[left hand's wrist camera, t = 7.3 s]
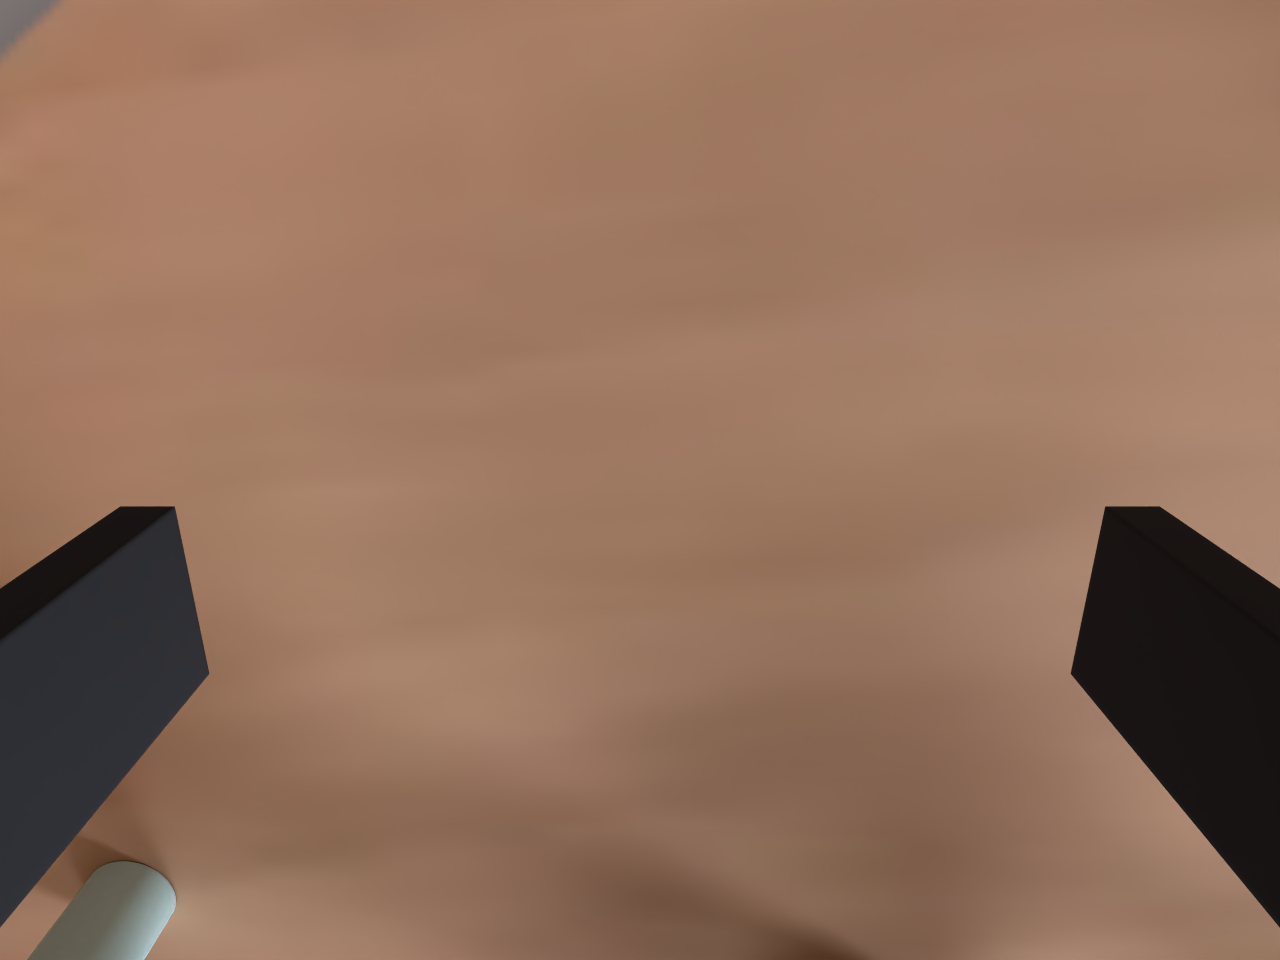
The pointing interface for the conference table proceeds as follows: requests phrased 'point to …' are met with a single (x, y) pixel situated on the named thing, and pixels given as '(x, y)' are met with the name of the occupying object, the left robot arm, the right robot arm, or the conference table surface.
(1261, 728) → the left robot arm
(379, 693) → the conference table surface
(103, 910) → the jar
